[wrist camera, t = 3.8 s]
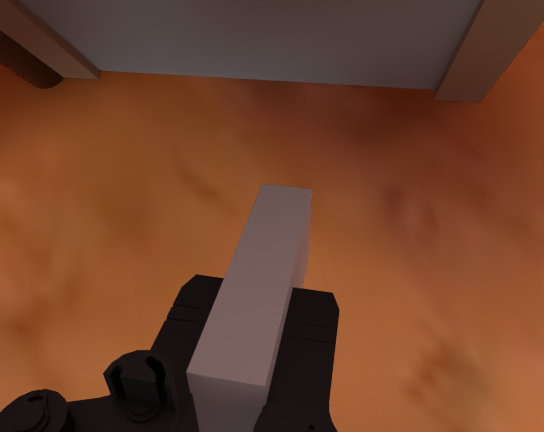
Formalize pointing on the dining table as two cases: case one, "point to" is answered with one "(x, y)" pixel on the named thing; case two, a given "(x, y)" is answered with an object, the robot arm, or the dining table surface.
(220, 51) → the gate leaf
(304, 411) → the robot arm
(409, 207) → the dining table surface
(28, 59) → the gate posts
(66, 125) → the dining table surface
